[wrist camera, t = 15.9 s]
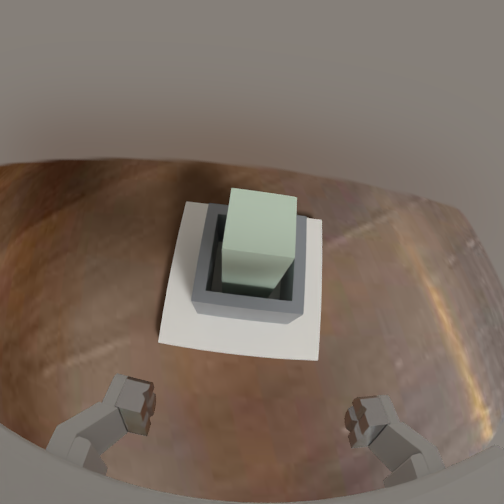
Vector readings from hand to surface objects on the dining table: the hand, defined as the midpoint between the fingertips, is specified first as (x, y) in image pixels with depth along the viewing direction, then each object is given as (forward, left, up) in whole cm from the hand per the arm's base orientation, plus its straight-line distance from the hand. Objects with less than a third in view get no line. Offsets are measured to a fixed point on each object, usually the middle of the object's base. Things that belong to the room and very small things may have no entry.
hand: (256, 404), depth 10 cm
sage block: (-9, +6, -17) cm, 20 cm away
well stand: (-9, +6, -18) cm, 21 cm away
